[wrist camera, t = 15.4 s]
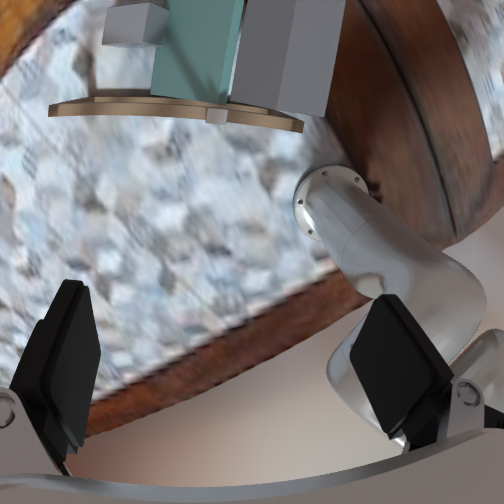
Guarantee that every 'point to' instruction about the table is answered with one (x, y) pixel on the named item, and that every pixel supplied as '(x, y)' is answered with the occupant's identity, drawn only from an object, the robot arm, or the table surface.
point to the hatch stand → (177, 111)
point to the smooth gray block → (136, 26)
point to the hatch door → (250, 52)
